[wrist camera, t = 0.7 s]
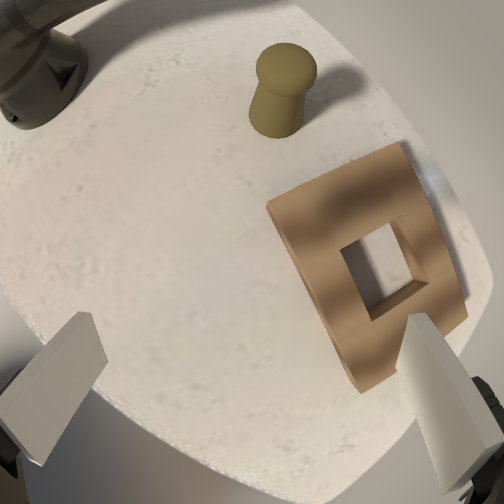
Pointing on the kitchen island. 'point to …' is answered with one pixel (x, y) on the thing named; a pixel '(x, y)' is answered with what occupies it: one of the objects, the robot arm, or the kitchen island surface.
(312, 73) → the cork
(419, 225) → the wooden block with hole
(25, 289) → the kitchen island surface
